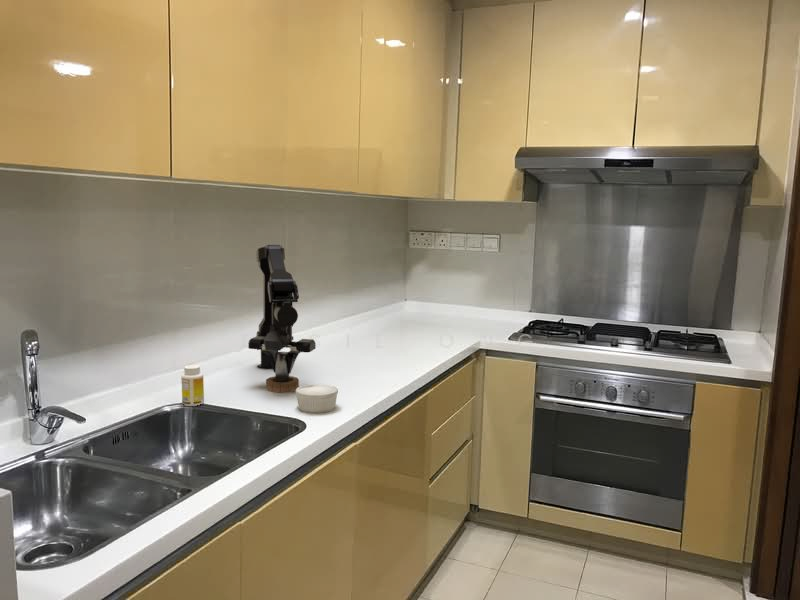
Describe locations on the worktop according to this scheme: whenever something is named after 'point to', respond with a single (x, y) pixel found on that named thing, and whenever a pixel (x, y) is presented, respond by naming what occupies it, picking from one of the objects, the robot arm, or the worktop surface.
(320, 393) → the ramekin
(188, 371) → the supplement bottle
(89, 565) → the worktop surface
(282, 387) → the brown segmented ring
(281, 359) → the grey metal peg
